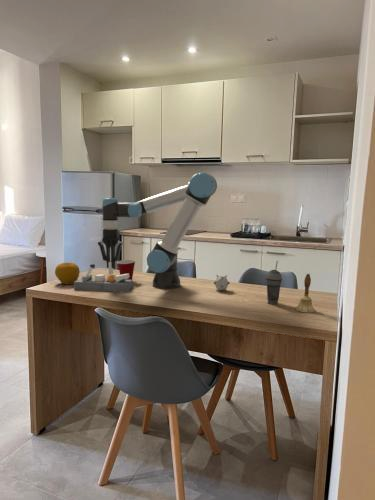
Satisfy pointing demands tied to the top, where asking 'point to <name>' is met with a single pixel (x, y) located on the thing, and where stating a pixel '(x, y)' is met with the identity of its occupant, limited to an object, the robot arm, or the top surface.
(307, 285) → the hand bell
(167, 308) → the top surface
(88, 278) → the lever
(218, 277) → the grey spiky ball
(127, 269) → the plastic cup
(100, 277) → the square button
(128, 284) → the grey tray
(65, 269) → the apple
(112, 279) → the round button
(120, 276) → the rocker
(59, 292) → the top surface
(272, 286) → the beverage cup
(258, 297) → the top surface
